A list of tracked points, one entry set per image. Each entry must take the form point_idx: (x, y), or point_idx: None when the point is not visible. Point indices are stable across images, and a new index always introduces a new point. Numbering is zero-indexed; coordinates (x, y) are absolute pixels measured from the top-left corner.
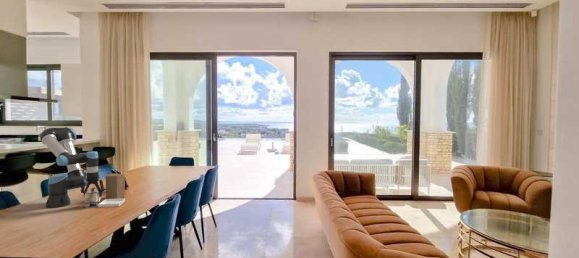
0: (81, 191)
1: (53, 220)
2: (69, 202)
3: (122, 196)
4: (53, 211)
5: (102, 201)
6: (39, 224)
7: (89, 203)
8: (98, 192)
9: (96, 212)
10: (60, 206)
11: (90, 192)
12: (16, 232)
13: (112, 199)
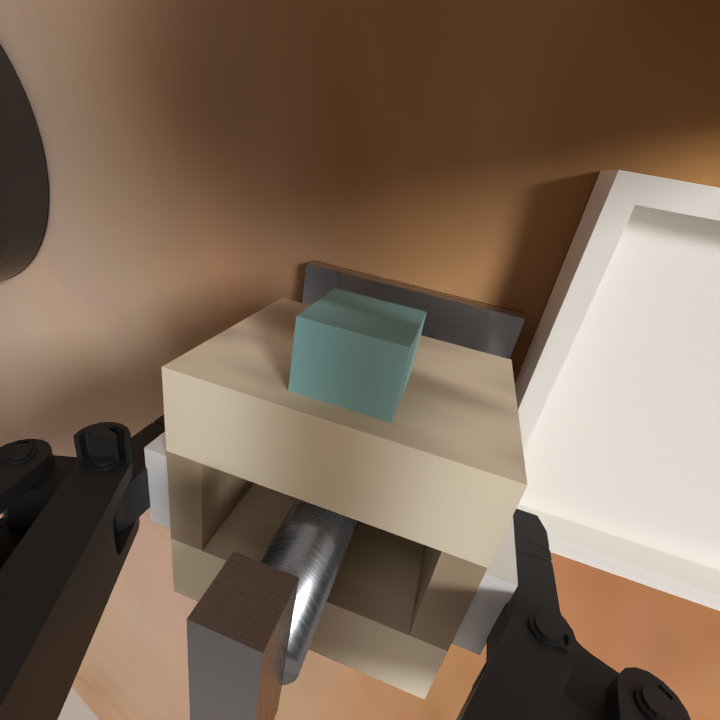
0: (21, 534)
1: (187, 647)
2: (14, 162)
3: None
4: (55, 420)
5: (545, 371)
6: (146, 667)
7: (319, 278)
8: (463, 590)
9: (471, 658)
10: (11, 275)
11: (232, 472)
12: (112, 707)
13: None
